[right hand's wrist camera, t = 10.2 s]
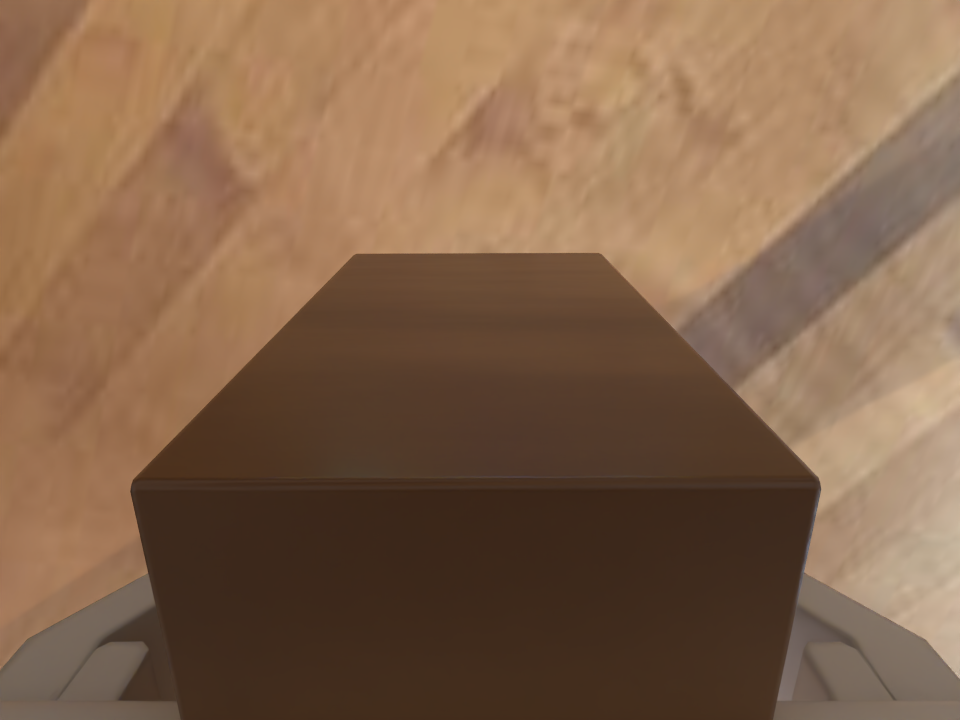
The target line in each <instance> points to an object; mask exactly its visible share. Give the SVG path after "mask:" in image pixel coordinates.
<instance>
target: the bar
mask: <svg viewBox="0 0 960 720" xmlns="http://www.w3.org/2000/svg"><path fill="white" fill-rule="evenodd" d="M130 492H131V496H132V501H133V506H134V510H135V515H136V519H137V524H138V528H139V533H140V537H141V542H142V546H143V551H144V555H145V560H146V564H147V569H148V574H149V578H150V583H151V587H152V592H153V596H154V601H155V605H156V610H157V614H158V619H159V623H160V628H161V632H162V637H163V642H164V646H165V651H166V655H167V660H168V664H169V669H170V673H171V678H172V682H173V687H174V691H175V696H176V700H177V705H178V710H179V714H180V719H181V720H773V717H774V712H775V708H776V703H777V698H778V693H779V688H780V684H781V679H782V674H783V669H784V664H785V660H786V655H787V650H788V645H789V641H790V636H791V631H792V626H793V621H794V617H795V612H796V607H797V602H798V597H799V593H800V588H801V583H802V578H803V574H804V569H805V564H806V559H807V554H808V550H809V545H810V540H811V535H812V530H813V526H814V521H815V516H816V511H817V507H818V502H819V497H820V492H821V486H820V481H819V478H818V477H817V476H816V475H815V474H814V473H813V472H812V471H811V470H810V469H809V468H808V466H807V465H806V464H805V463H804V462H803V461H802V460H801V459H800V458H799V457H798V456H797V455H796V454H795V453H794V452H793V451H792V450H791V449H790V448H789V447H788V446H787V445H786V444H785V443H784V442H783V441H782V440H781V439H780V438H779V437H778V436H777V435H776V434H775V433H774V431H773V430H772V429H771V428H770V427H769V426H768V425H767V424H766V423H765V422H764V421H763V420H762V419H761V418H760V417H759V416H758V415H757V414H756V413H755V412H754V411H753V410H752V409H751V408H750V407H749V406H748V405H747V404H746V403H745V402H744V401H743V400H742V399H741V397H740V396H739V395H738V394H737V393H736V392H735V391H734V390H733V389H732V388H731V387H730V386H729V385H728V384H727V383H726V382H725V381H724V380H723V379H722V378H721V377H720V376H719V375H718V374H717V373H716V372H715V371H714V370H713V369H712V368H711V367H710V366H709V365H708V364H707V362H706V361H705V360H704V359H703V358H702V357H701V356H700V355H699V354H698V353H697V352H696V351H695V350H694V349H693V348H692V347H691V346H690V345H689V344H688V343H687V342H686V341H685V340H684V339H683V338H682V337H681V336H680V335H679V334H678V333H677V332H676V331H675V330H674V328H673V327H672V326H671V325H670V324H669V323H668V322H667V321H666V320H665V319H664V318H663V317H662V316H661V315H660V314H659V313H658V312H657V311H656V310H655V309H654V308H653V307H652V306H651V305H650V304H649V303H648V302H647V301H646V300H645V299H644V298H643V297H642V296H641V295H640V293H639V292H638V291H637V290H636V289H635V288H634V287H633V286H632V285H631V284H630V283H629V282H628V281H627V280H626V279H625V278H624V277H623V276H622V275H621V274H620V273H619V272H618V271H617V270H616V269H615V268H614V267H613V266H612V265H611V264H610V263H609V262H608V261H607V259H606V258H605V257H604V256H603V255H602V254H599V253H475V254H355V255H354V256H353V257H352V258H351V259H350V260H349V261H348V262H347V263H346V264H345V265H344V266H343V267H342V268H341V269H340V270H339V271H338V272H337V273H336V274H335V275H334V276H333V277H332V278H331V279H330V280H329V281H328V282H327V283H326V284H325V285H324V286H323V287H322V288H321V289H320V290H319V291H318V292H317V293H316V294H315V295H314V296H313V297H312V298H311V299H310V300H309V301H308V302H307V303H306V304H305V305H304V306H303V307H302V308H301V310H300V311H299V312H298V313H297V314H296V315H295V316H294V317H293V318H292V319H291V320H290V321H289V322H288V323H287V324H286V325H285V326H284V327H283V328H282V329H281V330H280V331H279V332H278V333H277V334H276V335H275V336H274V337H273V338H272V339H271V340H270V341H269V342H268V343H267V344H266V345H265V346H264V347H263V348H262V349H261V350H260V351H259V352H258V353H257V354H256V355H255V356H254V357H253V358H252V359H251V360H250V361H249V362H248V363H247V364H246V366H245V367H244V368H243V369H242V370H241V371H240V372H239V373H238V374H237V375H236V376H235V377H234V378H233V379H232V380H231V381H230V382H229V383H228V384H227V385H226V386H225V387H224V388H223V389H222V390H221V391H220V392H219V393H218V394H217V395H216V396H215V397H214V398H213V399H212V400H211V401H210V402H209V403H208V404H207V405H206V406H205V407H204V408H203V409H202V410H201V411H200V412H199V413H198V414H197V415H196V416H195V417H194V418H193V419H192V420H191V422H190V423H189V424H188V425H187V426H186V427H185V428H184V429H183V430H182V431H181V432H180V433H179V434H178V435H177V436H176V437H175V438H174V439H173V440H172V441H171V442H170V443H169V444H168V445H167V446H166V447H165V448H164V449H163V450H162V451H161V452H160V453H159V454H158V455H157V456H156V457H155V458H154V459H153V460H152V461H151V462H150V463H149V464H148V465H147V466H146V467H145V468H144V469H143V470H142V471H141V472H140V473H139V474H138V475H137V476H136V478H135V479H134V480H133V482H132V485H131V491H130Z"/></svg>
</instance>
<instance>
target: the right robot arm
mask: <svg viewBox="0 0 960 720" xmlns="http://www.w3.org/2000/svg"><path fill="white" fill-rule="evenodd" d="M0 720H181V719H180V714H179V710H178V705H177V700H176V696H175V691H174V687H173V682H172V678H171V673H170V669H169V664H168V660H167V655H166V651H165V646H164V642H163V637H162V632H161V628H160V623H159V619H158V614H157V610H156V605H155V601H154V596H153V592H152V587H151V583H150V578H149V574H146V575H144V576H142V577H141V578H139V579H137V580H135V581H133V582H131V583H130V584H128V585H126V586H124V587H122V588H120V589H119V590H117V591H115V592H113V593H111V594H109V595H108V596H106V597H104V598H102V599H100V600H98V601H96V602H95V603H93V604H91V605H89V606H87V607H85V608H84V609H82V610H80V611H78V612H76V613H74V614H73V615H71V616H69V617H67V618H65V619H63V620H62V621H60V622H58V623H56V624H54V625H52V626H51V627H49V628H47V629H45V630H43V631H41V632H40V633H38V634H36V635H34V636H32V637H30V638H29V639H27V640H26V641H25V643H24V644H23V645H22V646H21V647H20V648H19V649H18V650H17V652H16V653H15V654H14V655H13V656H12V657H11V658H10V660H9V661H8V662H7V663H6V664H5V665H4V666H3V667H2V669H1V670H0ZM773 720H960V679H959V678H958V677H957V676H956V674H955V673H954V672H953V671H952V670H951V669H950V667H949V666H948V665H947V664H946V663H945V662H944V661H943V659H942V658H941V657H940V656H939V655H938V654H937V652H936V651H935V650H934V649H933V648H932V647H931V645H930V644H929V643H928V642H927V641H926V640H925V639H923V638H921V637H919V636H918V635H916V634H914V633H912V632H910V631H909V630H907V629H905V628H903V627H901V626H900V625H898V624H896V623H894V622H892V621H890V620H889V619H887V618H885V617H883V616H881V615H880V614H878V613H876V612H874V611H872V610H871V609H869V608H867V607H865V606H863V605H861V604H860V603H858V602H856V601H854V600H852V599H851V598H849V597H847V596H845V595H843V594H842V593H840V592H838V591H836V590H834V589H832V588H831V587H829V586H827V585H825V584H823V583H822V582H820V581H818V580H816V579H814V578H812V577H811V576H809V575H807V574H805V573H804V574H803V578H802V583H801V588H800V593H799V597H798V602H797V607H796V612H795V617H794V621H793V626H792V631H791V636H790V641H789V645H788V650H787V655H786V660H785V664H784V669H783V674H782V679H781V684H780V688H779V693H778V698H777V703H776V708H775V712H774V717H773Z"/></svg>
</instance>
